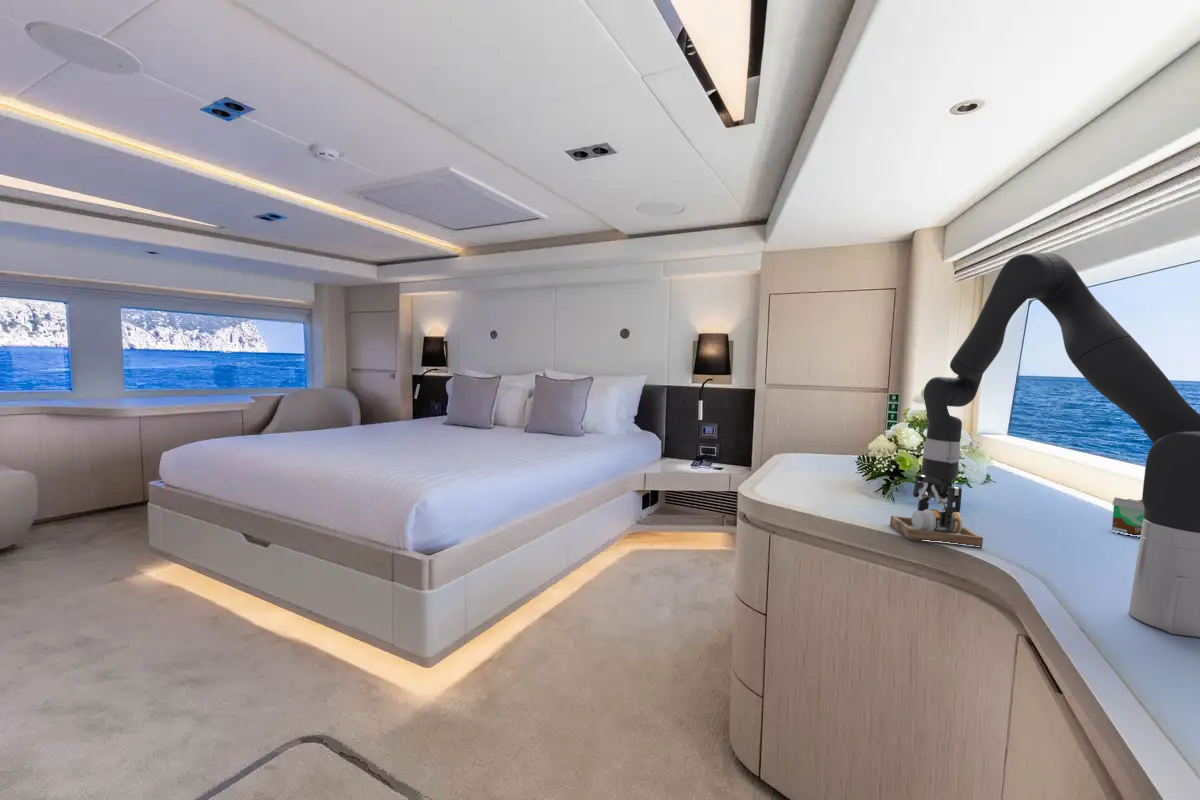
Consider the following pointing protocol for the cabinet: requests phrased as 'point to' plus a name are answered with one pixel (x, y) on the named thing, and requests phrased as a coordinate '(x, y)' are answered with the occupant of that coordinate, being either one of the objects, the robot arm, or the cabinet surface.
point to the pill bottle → (935, 521)
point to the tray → (934, 533)
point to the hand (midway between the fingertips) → (932, 521)
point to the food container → (1128, 516)
